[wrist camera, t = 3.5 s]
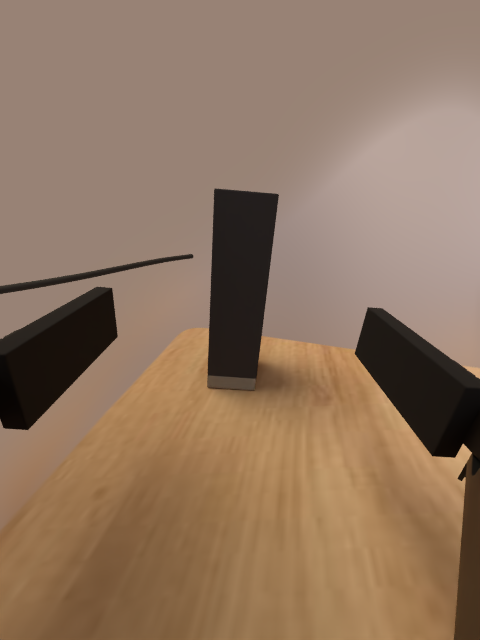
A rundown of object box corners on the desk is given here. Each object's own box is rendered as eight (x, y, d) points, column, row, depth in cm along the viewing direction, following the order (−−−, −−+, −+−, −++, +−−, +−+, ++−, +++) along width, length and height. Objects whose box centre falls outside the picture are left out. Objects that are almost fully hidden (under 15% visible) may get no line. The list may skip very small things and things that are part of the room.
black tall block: (254, 390, 22) (278, 194, 17) (207, 387, 22) (214, 188, 16) (252, 359, 27) (270, 196, 21) (213, 356, 27) (220, 192, 21)
